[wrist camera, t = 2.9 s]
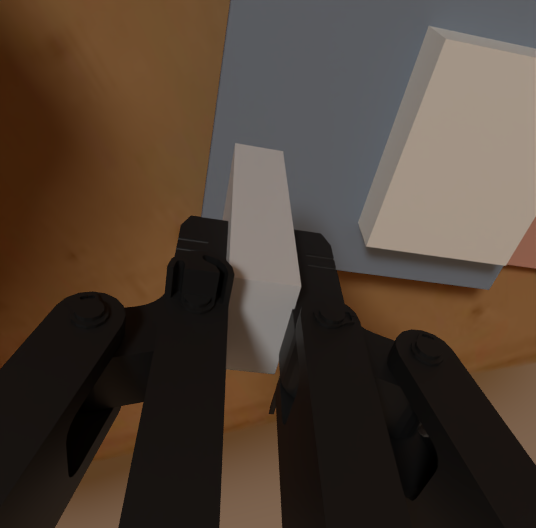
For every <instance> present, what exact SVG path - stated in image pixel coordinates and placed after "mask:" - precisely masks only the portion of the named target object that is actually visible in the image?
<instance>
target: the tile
mask: <svg viewBox="0 0 536 528" xmlns="http://www.w3.org/2000/svg"><path fill="white" fill-rule="evenodd" d="M535 217H536V49H535V48H530V47H526V46H521V45H516V44H512V43H507V42H502V41H498V40H493V39H488V38H484V37H479V36H474V35H470V34H465V33H460V32H456V31H451V30H446V29H442V28H437V27H432V26H428V29H427V32H426V35H425V37H424V40H423V43H422V46H421V49H420V51H419V54H418V57H417V60H416V62H415V65H414V68H413V71H412V74H411V76H410V79H409V82H408V85H407V87H406V90H405V93H404V96H403V99H402V101H401V104H400V107H399V110H398V113H397V115H396V118H395V121H394V124H393V126H392V129H391V132H390V135H389V138H388V140H387V143H386V146H385V149H384V151H383V154H382V157H381V160H380V163H379V165H378V168H377V171H376V174H375V177H374V179H373V182H372V185H371V188H370V190H369V193H368V196H367V199H366V202H365V204H364V207H363V210H362V213H361V215H360V218H359V221H358V224H359V227H360V230H361V233H362V236H363V239H364V242H365V245H366V247H373V248H381V249H388V250H395V251H402V252H409V253H417V254H424V255H431V256H438V257H445V258H453V259H460V260H467V261H474V262H482V263H489V264H496V265H503V266H506V264H507V263H508V261H509V259H510V258H511V256H512V255H513V253H514V251H515V250H516V248H517V246H518V245H519V243H520V241H521V240H522V238H523V236H524V235H525V233H526V231H527V230H528V228H529V227H530V225H531V223H532V222H533V220H534V218H535Z"/></svg>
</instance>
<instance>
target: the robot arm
mask: <svg viewBox="0 0 536 528" xmlns="http://www.w3.org/2000/svg"><path fill="white" fill-rule="evenodd" d="M333 258H334V257H333V253H332V248H331V245H330V244H329V243H328V241H327V240H326V239H325V238H324V237H323V235H322V234H321V233H315V232H308V231H301V230H294V228H293V221H292V214H291V206H290V199H289V191H288V184H287V177H286V169H285V162H284V154H283V151H279V150H273V149H267V148H261V147H255V146H249V145H244V144H238V143H235V147H234V153H233V159H232V165H231V172H230V178H229V184H228V190H227V196H226V202H225V208H224V214H223V220H218V219H211V218H204V217H198V216H190V217H189V218H188V219H187V220H186V221H185V222H184V223H183V224H182V225H181V228H180V233H179V238H178V243H177V248H176V253H175V257H173V258H172V259H171V261H170V262H169V264H168V266H167V276H166V286H165V294H164V295H163V296H162V297H161V298H159V299H158V300H156V301H154V302H152V303H149V304H147V305H141V306H136V307H127V308H124V306H123V305H122V304H121V303H120V302H119V301H118V300H117V299H116V298H114V297H112V296H110V295H108V294H105V293H98V292H83V293H77V294H74V295H72V296H69V297H66V298H65V299H64V300H62V301H61V302H60V303H58V304H57V305H56V306H55V307H54V308H53V310H52V311H51V312H50V313H49V314H48V315H47V316H46V318H45V319H44V320H43V321H42V322H41V323H40V324H39V326H38V327H37V328H36V329H35V330H34V331H33V332H32V334H31V335H30V336H29V337H28V338H27V339H26V340H25V342H24V343H23V344H22V345H21V346H20V347H19V348H18V350H17V351H16V352H15V353H14V354H13V355H12V356H11V358H10V359H9V360H8V361H7V362H6V363H5V364H4V366H3V367H2V368H1V369H0V528H55V526H56V524H57V523H58V521H59V519H60V517H61V515H62V513H63V512H64V509H65V508H66V506H67V504H68V503H69V501H70V499H71V497H72V496H73V494H74V492H75V490H76V488H77V487H78V485H79V483H80V481H81V479H82V478H83V476H84V474H85V472H86V470H87V469H88V467H89V465H90V463H91V462H92V460H93V458H94V456H95V454H96V453H97V451H98V449H99V447H100V445H101V444H102V442H103V440H104V438H105V436H106V435H107V433H108V431H109V429H110V427H111V426H112V424H113V422H114V420H115V418H116V417H117V415H118V413H119V411H120V408H121V406H124V405H129V404H134V403H140V402H144V403H143V408H142V413H141V418H140V423H139V428H138V433H137V438H136V443H135V448H134V453H133V458H132V463H131V468H130V473H129V478H128V483H127V488H126V493H125V498H124V503H123V508H122V513H121V518H120V523H119V528H219V522H220V498H221V474H222V449H223V426H224V402H225V379H226V369H230V370H239V371H249V372H258V373H268V374H275V371H276V368H277V365H278V361H279V367H280V377H279V380H278V383H277V387H276V390H275V393H274V396H273V399H272V402H271V406H270V411H269V414H274V411H275V408H276V414H277V432H278V453H279V472H280V491H281V510H282V528H536V465H535V464H534V462H533V461H532V459H531V458H530V457H529V455H528V454H527V453H526V451H525V450H524V449H523V447H522V446H521V444H520V443H519V442H518V440H517V439H516V437H515V436H514V435H513V433H512V432H511V430H510V429H509V428H508V426H507V425H506V424H505V422H504V421H503V419H502V418H501V417H500V415H499V414H498V412H497V411H496V410H495V408H494V407H493V405H492V404H491V403H490V401H489V400H488V399H487V397H486V396H485V394H484V393H483V392H482V390H481V389H480V387H479V386H478V385H477V384H476V382H475V381H474V379H473V378H472V376H471V375H470V374H469V372H468V371H467V369H466V368H465V367H464V365H463V364H462V363H461V361H460V360H459V358H458V357H457V356H456V354H455V353H454V351H453V350H452V349H451V348H450V347H449V346H448V345H447V344H446V343H445V342H444V341H443V340H441V339H440V338H438V337H436V336H435V335H433V334H430V333H428V332H425V331H421V330H408V331H404V332H402V333H401V334H400V335H399V336H398V337H397V338H396V340H395V341H394V340H391V339H388V338H386V337H383V336H380V335H377V334H375V333H373V332H370V331H368V330H366V329H364V328H363V327H361V324H360V321H359V319H358V317H357V315H356V313H355V312H354V311H353V310H352V309H351V308H349V307H348V306H347V305H345V304H344V300H343V295H342V291H341V287H340V283H339V278H338V274H337V270H336V265H335V261H334V260H333Z"/></svg>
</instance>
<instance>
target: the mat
mask: <svg viewBox="0 0 536 528" xmlns="http://www.w3.org/2000/svg"><path fill="white" fill-rule="evenodd" d="M507 265H514V266H522V267H529V268H536V217H535V218H534V220H533V222H532V223H531V225H530V227H529V228H528V230H527V231H526V233H525V235H524V236H523V238H522V240H521V241H520V243H519V245H518V246H517V248H516V250H515V251H514V253H513V255H512V256H511V258H510V259H509V261H508V263H507Z"/></svg>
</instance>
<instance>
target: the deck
mask: <svg viewBox="0 0 536 528" xmlns="http://www.w3.org/2000/svg"><path fill="white" fill-rule="evenodd" d="M428 26H432V27H437V28H442V29H446V30H451V31H456V32H460V33H465V34H470V35H474V36H479V37H484V38H488V39H493V40H498V41H502V42H507V43H512V44H516V45H521V46H526V47H530V48H535V49H536V0H230V7H229V14H228V22H227V29H226V36H225V44H224V51H223V59H222V66H221V74H220V81H219V88H218V96H217V103H216V111H215V118H214V126H213V133H212V140H211V148H210V155H209V163H208V170H207V177H206V185H205V192H204V200H203V207H202V215H201V217H204V218H211V219H218V220H223V214H224V208H225V202H226V196H227V190H228V184H229V178H230V172H231V165H232V159H233V153H234V147H235V143H238V144H244V145H249V146H255V147H261V148H267V149H273V150H279V151H283V154H284V162H285V169H286V177H287V184H288V191H289V199H290V206H291V214H292V221H293V228H294V230H301V231H308V232H315V233H321V234H322V235H323V237H324V238H325V239H326V240H327V241H328V243H329V244H330V245H331V248H332V253H333V257H334V258H333V260H334V261H335V265H336V270H341V271H349V272H356V273H364V274H372V275H379V276H387V277H395V278H403V279H410V280H418V281H426V282H433V283H441V284H449V285H456V286H464V287H472V288H480V289H487V290H489V289H490V287H491V286H492V284H493V282H494V281H495V279H496V277H497V276H498V274H499V272H500V271H501V269H502V267H503V265H496V264H489V263H482V262H474V261H467V260H460V259H453V258H445V257H438V256H431V255H424V254H417V253H409V252H402V251H395V250H388V249H381V248H373V247H366V245H365V242H364V239H363V236H362V233H361V230H360V227H359V224H358V221H359V218H360V215H361V213H362V210H363V207H364V204H365V202H366V199H367V196H368V193H369V190H370V188H371V185H372V182H373V179H374V177H375V174H376V171H377V168H378V165H379V163H380V160H381V157H382V154H383V151H384V149H385V146H386V143H387V140H388V138H389V135H390V132H391V129H392V126H393V124H394V121H395V118H396V115H397V113H398V110H399V107H400V104H401V101H402V99H403V96H404V93H405V90H406V87H407V85H408V82H409V79H410V76H411V74H412V71H413V68H414V65H415V62H416V60H417V57H418V54H419V51H420V49H421V46H422V43H423V40H424V37H425V35H426V32H427V29H428Z"/></svg>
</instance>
